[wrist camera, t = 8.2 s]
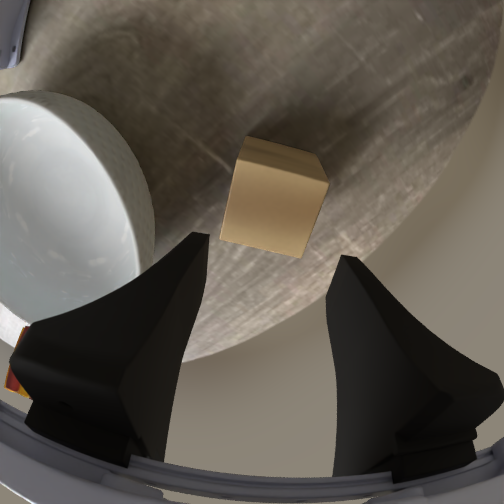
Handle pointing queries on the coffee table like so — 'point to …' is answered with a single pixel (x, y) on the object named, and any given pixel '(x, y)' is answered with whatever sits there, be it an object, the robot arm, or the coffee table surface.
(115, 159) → the cereal bowl
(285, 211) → the block
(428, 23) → the coffee table surface
